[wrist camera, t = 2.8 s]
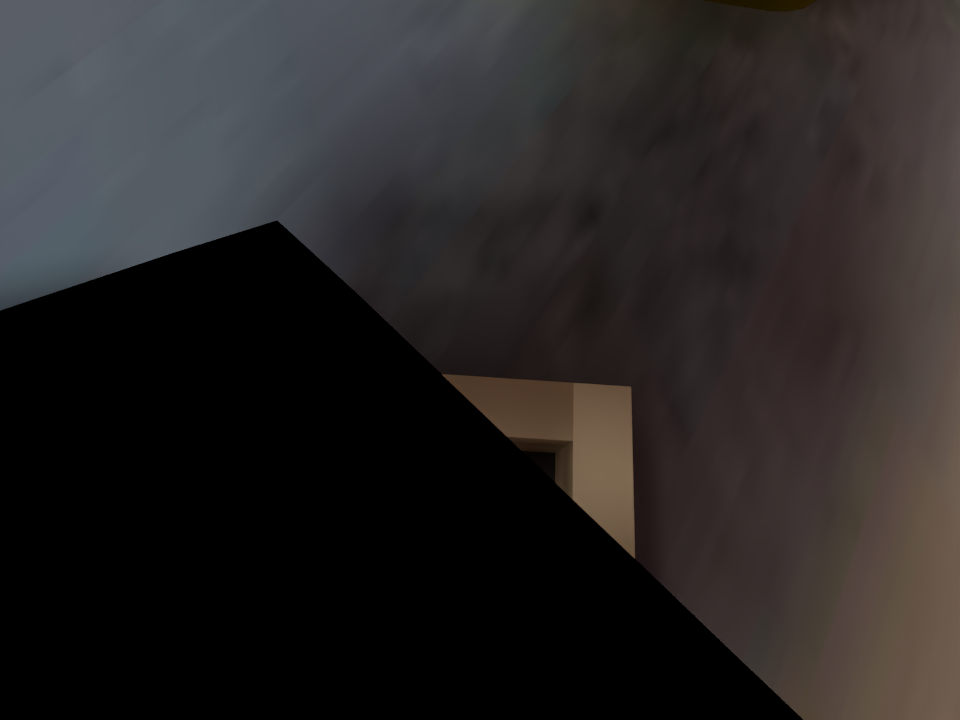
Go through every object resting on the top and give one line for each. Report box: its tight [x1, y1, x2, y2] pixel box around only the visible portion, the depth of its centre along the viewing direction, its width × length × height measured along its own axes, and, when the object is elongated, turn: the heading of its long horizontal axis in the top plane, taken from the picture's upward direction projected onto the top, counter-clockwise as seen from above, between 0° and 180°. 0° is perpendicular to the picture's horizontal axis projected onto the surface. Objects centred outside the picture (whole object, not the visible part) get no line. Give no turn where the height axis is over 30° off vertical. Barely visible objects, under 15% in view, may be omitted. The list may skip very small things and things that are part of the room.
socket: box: [442, 374, 635, 559], centre depth 14 cm, size 11×11×2 cm
